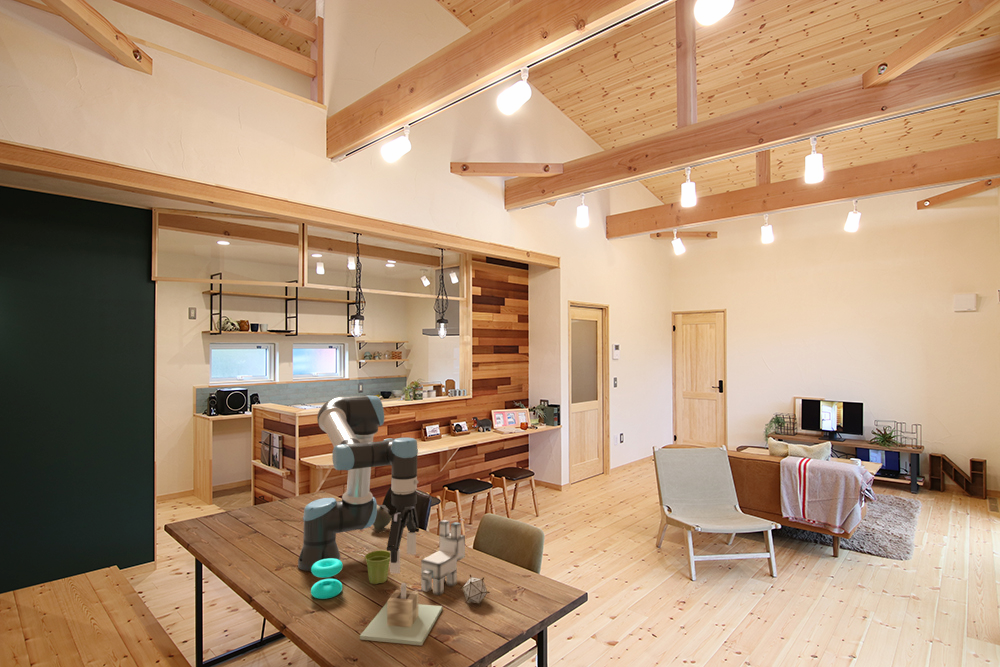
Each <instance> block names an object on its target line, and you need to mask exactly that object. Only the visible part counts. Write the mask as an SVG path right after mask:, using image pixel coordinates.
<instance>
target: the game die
mask: <svg viewBox="0 0 1000 667" xmlns="http://www.w3.org/2000/svg"><path fill="white" fill-rule="evenodd" d="M484 580H485V577H482V578H478V577H475V576H472V575H471V574H469V578H468V580H467V581H466V582H465V584H464V585H463V586H461V587H459V589H460V590H462V592H463V594H464V597H465V600H466V601H465V604H467V603H468V602H469V603H473V604H478V606H479V607H481V603H482V600H483V599H484V597H486V595H487V594H490V593H491V592H490V591H489V590H487V587H486V584H485V582H484Z"/></svg>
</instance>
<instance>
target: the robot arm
mask: <svg viewBox="0 0 1000 667" xmlns="http://www.w3.org/2000/svg"><path fill="white" fill-rule="evenodd" d="M384 409H385V408H384V406H383V403H382V400H381V398H380V397H379V396H377V395H368V394H366V395H355V396H337V397H333V398H331V399H329V400H328V401H326V402H325V403H324V404H323V405H322V406H321V407H320V409H319V411H318V413H317V417H316V418H317V424H318V426H319V428H320V430H322V432H324V433H325V434H327V437H328V439H329V440H330V442H331V444H332V447H333V449H332V464H333V468H334V470H336V471H347V479H346V480H347V484H346V491H345V492H344V493H343V494H342V496H341V500H339V501H338V500H337V499H336V498H334V497H323V498H318V499H315V500H312V501H311V502H310V503H309V502H308V504H306V505H305V507H304V510H303V517H302V519H303V537H302V538H303V543H302V544H303V545H302V548H301V550H300V553H299V556H298V560H297V567H298V569H299V570H301V571H304V572H311V568H312V565H313V564H314V563H316V562H317V561H319V560H323V559H328V558H334V559H338V560H340V561H341V553H340V551H339V547H338V543H337V540H336V535H337V534H340V533H345V532H351V531H358V530H360V531H361V530H364V529H367V528H371V527H372V526H374V525H373V524H374V522H375V519H376V515H377V504H378V503H377V499H376V497H375V496H373V493H372V492H371V490H370V486H371V473H372V468H375V467H384V466H391V481H390V482H391V487H390V488H391V491H392V492H391V494H390V495H391V498H390V499H391V505H392V507H395V508H396V511H395V513H392V514H391V516H392V518H391V521H390V529H389V532H388V533H389V534H388V540H387V544H386V545H387V546H386V551H389V552H390V562H389V573H390V574H399V575H400V573H401V549H400V546H401V540H402V537H403V533H404V529H405V528H407V531H408V532H406V555H412V556H413V555H414V556H415V555H416V554H417V533H419V532H420V528H419V527H420V524H419V519H418V513H417V508H416V506H417V505H416V504H417V503H418V492H417V489H418V484H419V480H418V454H419V450H418V441H417V439H416V438H414V437H398V438H397V437H396V438H385V439H383V440H381V441H374V436H375V435H376V434H377V433H378V432H379V427H381V426H384V423H385V410H384Z"/></svg>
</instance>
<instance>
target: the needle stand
mask: <svg viewBox="0 0 1000 667" xmlns="http://www.w3.org/2000/svg"><path fill="white" fill-rule="evenodd" d="M400 590H401V599H406V591H407V583H406V582H402V583H401V584H400ZM387 605H388V601H386V603H385V604H384V606H382V608H381V609H380V610H379V612H378V613H377V614H376V615H375V616H374V618H373V619H372V620H371V621H370V623H369V624H368V625H367V627H365V629H364V630H363V631H362V632H361V633H360V635H359V640H363V641H373V642H374V641H375V642H381V643H382V642H384V643H392V644H402V645H403V644H404V645H411V646H412V645H413V646H423V644H424V642H425V641H426V639H427V637H428V635H429V634H430V632H431V630H432V629H433V627H434V626H435V623H436V621H437V619H438V618H439V617H440V614H441V612H442V611H443V605H432V604H421V603H420V604H419V603H418V617H417V618H416V620H415V621H414V623H413V624H412V626H411V627H400V626H389V625H387Z"/></svg>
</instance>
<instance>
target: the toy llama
mask: <svg viewBox="0 0 1000 667" xmlns="http://www.w3.org/2000/svg"><path fill="white" fill-rule="evenodd" d="M465 557H466V535H463V534H462V523H461V522H456V521H454V522H452V523H450V520H446V519H443V520H440V521H439V550H438V551H435V552H434V553H432V554H429V555H428V556H426V557H424V558H423V559H421V565H420V566H421V570H420V571H421V572H420V574H421V576H420V578H421V579H420V582H421V583H420V584H421V585H420V586H421V588H420V590H421V591H423V592H426V593H427V592H429V591H431V590H432V594H433V595H437V596H441V595H443V594H444V593H445V592H444V583H445V582H446V586H449V587H451V588H452V587H454V586H456V585H457V584H458V582H457V578H458V576H457V574H458V571H457V570H458V568H457V567H458V565H457V564H458V562H459V561H460V560H462V559H464V558H465Z"/></svg>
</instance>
